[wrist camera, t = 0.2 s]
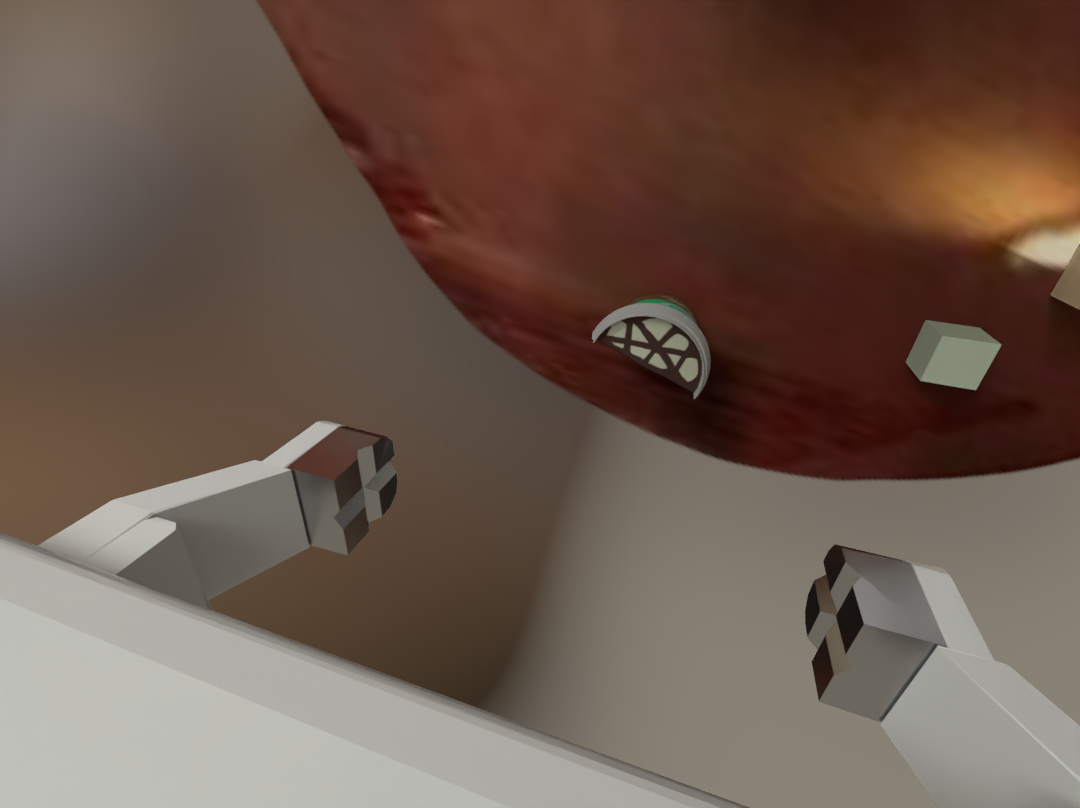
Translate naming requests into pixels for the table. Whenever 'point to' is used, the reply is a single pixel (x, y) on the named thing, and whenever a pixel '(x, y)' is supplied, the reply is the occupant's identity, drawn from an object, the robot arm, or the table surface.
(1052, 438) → the table surface
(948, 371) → the cube
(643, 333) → the food container
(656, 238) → the table surface
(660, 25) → the table surface
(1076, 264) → the box
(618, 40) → the table surface
